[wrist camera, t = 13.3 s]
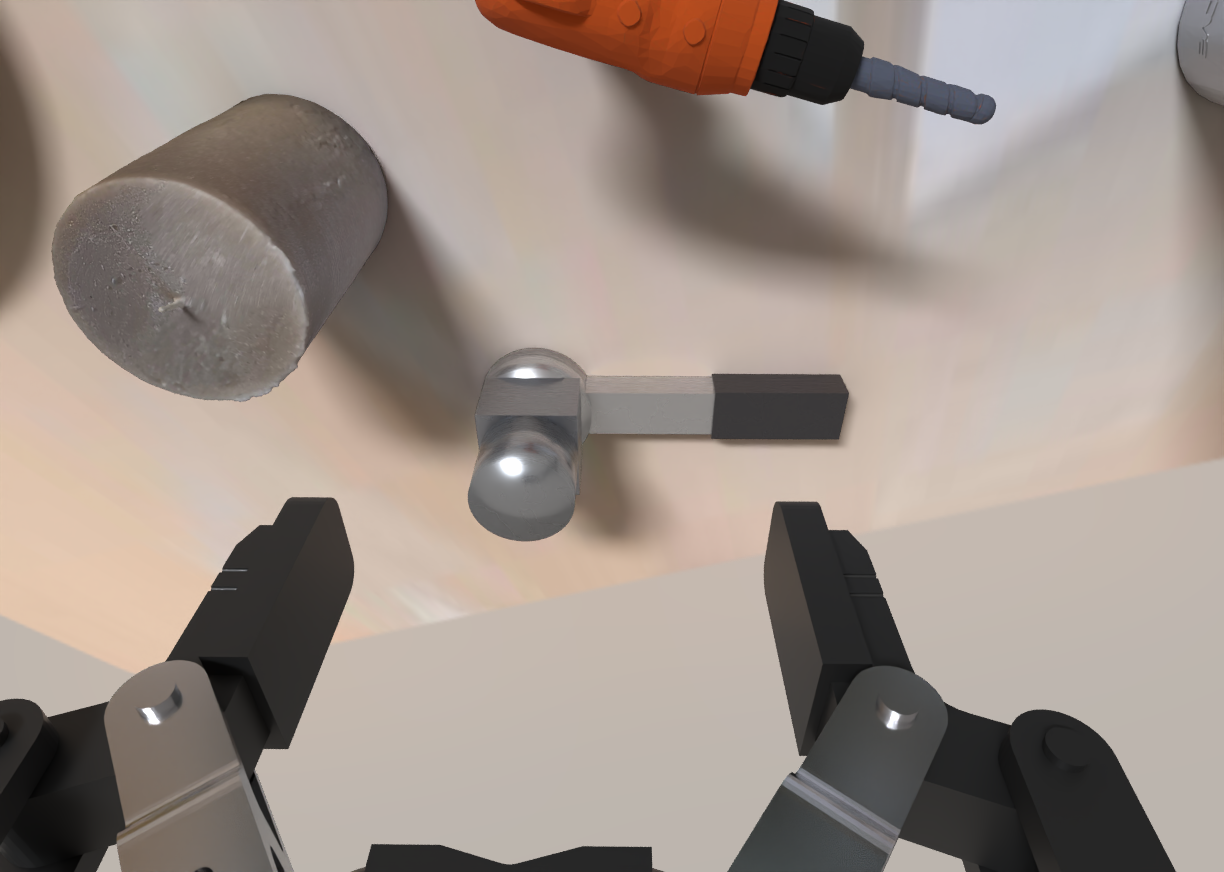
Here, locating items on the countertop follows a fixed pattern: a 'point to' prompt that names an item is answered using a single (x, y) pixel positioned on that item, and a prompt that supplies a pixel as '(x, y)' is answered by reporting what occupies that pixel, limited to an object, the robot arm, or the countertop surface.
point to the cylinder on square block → (527, 456)
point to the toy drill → (730, 49)
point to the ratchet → (694, 401)
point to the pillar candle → (223, 247)
